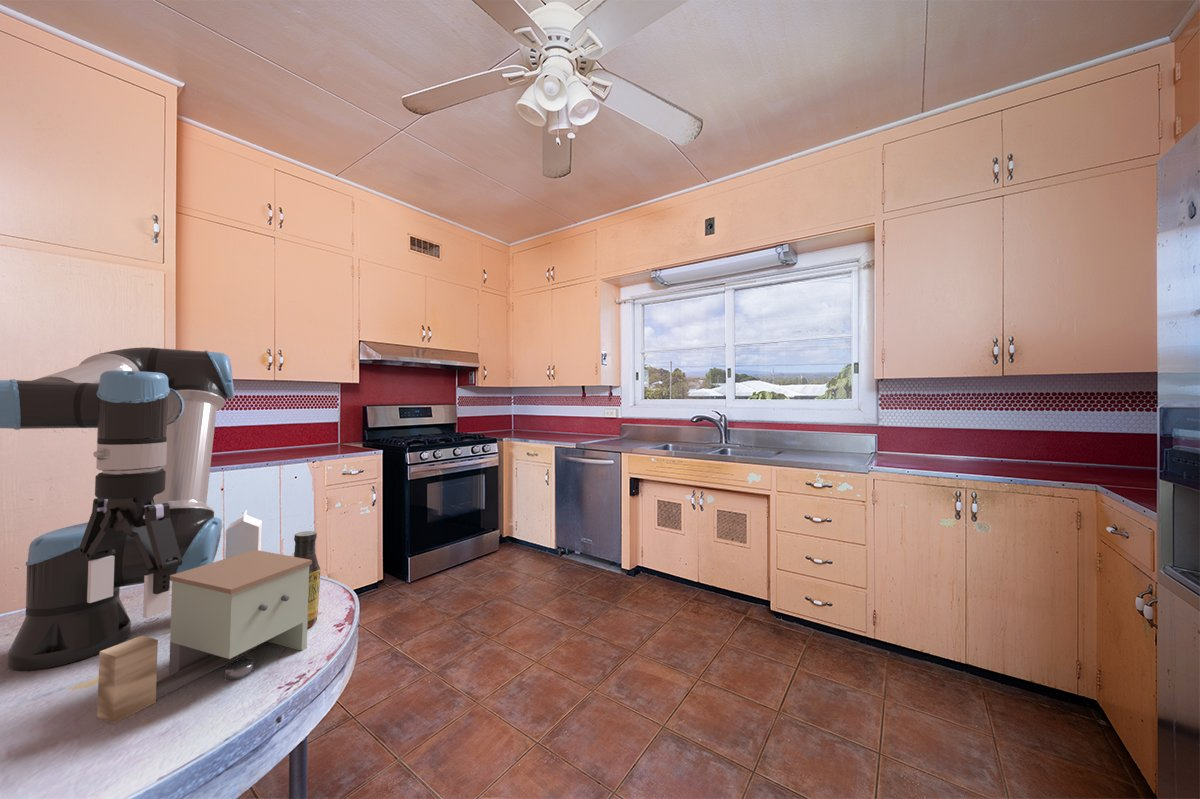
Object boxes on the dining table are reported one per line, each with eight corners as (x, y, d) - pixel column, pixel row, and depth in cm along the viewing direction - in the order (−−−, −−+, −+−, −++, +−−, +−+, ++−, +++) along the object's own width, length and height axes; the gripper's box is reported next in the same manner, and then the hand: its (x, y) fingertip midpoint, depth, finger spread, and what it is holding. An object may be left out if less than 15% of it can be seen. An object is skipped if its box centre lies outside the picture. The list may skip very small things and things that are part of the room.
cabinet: (165, 673, 78) (169, 575, 78) (252, 632, 92) (255, 549, 92) (229, 694, 73) (233, 590, 73) (311, 647, 87) (313, 560, 87)
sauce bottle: (300, 635, 92) (303, 539, 92) (275, 631, 93) (278, 536, 93) (325, 620, 98) (328, 530, 98) (302, 616, 99) (304, 528, 99)
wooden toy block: (97, 717, 67) (99, 651, 67) (244, 645, 87) (246, 594, 87) (113, 723, 66) (115, 656, 66) (258, 649, 86) (260, 598, 86)
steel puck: (218, 679, 77) (219, 668, 77) (243, 666, 81) (243, 656, 81) (235, 684, 76) (235, 673, 76) (259, 670, 80) (259, 660, 80)
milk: (223, 613, 99) (225, 516, 99) (228, 602, 105) (230, 510, 105) (257, 607, 103) (259, 513, 103) (260, 597, 108) (262, 507, 108)
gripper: (49, 467, 69) (44, 603, 69) (154, 480, 61) (149, 632, 61) (114, 461, 76) (109, 584, 76) (215, 472, 69) (210, 608, 68)
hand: (127, 606), depth 69 cm, fingers open, 13 cm apart
